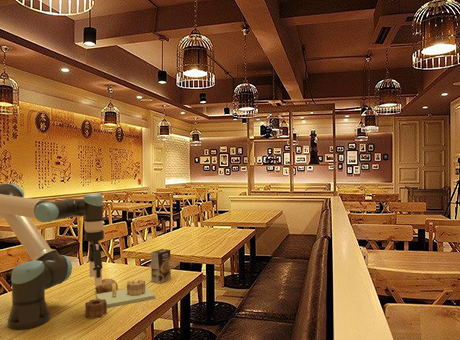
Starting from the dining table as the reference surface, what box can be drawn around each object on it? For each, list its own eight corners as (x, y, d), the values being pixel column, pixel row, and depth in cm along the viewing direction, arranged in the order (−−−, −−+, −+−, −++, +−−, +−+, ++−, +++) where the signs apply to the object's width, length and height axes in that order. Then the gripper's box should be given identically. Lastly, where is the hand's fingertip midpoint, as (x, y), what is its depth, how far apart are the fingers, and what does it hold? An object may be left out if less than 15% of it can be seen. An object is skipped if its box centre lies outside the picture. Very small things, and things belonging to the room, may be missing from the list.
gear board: (101, 308, 165) (101, 291, 165) (96, 297, 179) (95, 281, 179) (155, 298, 176) (154, 282, 176) (145, 288, 190) (145, 273, 190)
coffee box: (160, 283, 198) (159, 253, 198) (151, 281, 201) (150, 251, 201) (171, 279, 206) (170, 249, 205) (162, 277, 209) (161, 248, 209)
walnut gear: (87, 319, 154) (86, 307, 153) (84, 312, 161) (84, 301, 161) (108, 315, 157) (107, 303, 157) (104, 308, 165) (104, 297, 165)
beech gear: (134, 297, 174) (134, 286, 174) (123, 293, 180) (123, 283, 179) (148, 292, 181) (148, 281, 181) (138, 288, 186) (137, 278, 186)
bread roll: (107, 302, 183) (113, 287, 182) (89, 292, 184) (95, 278, 184) (117, 295, 192) (123, 281, 192) (100, 285, 194) (106, 272, 193)
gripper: (109, 234, 149) (110, 287, 150) (98, 225, 171) (100, 271, 172) (89, 236, 146) (90, 290, 146) (81, 227, 168) (82, 274, 168)
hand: (95, 280), depth 159 cm, fingers open, 13 cm apart
